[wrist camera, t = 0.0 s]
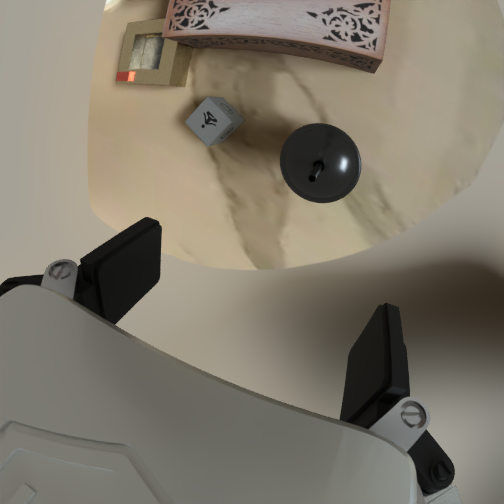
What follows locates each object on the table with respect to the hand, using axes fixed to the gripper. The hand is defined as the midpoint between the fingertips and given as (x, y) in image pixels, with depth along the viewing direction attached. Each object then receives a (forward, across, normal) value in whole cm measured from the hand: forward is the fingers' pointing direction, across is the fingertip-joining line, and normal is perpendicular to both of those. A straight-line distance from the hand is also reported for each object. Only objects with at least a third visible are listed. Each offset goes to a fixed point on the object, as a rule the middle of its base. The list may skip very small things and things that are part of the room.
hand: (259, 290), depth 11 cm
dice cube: (+32, +16, -2) cm, 35 cm away
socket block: (+31, +29, -12) cm, 44 cm away
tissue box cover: (+32, +10, -21) cm, 39 cm away
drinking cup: (+31, 0, -2) cm, 31 cm away
